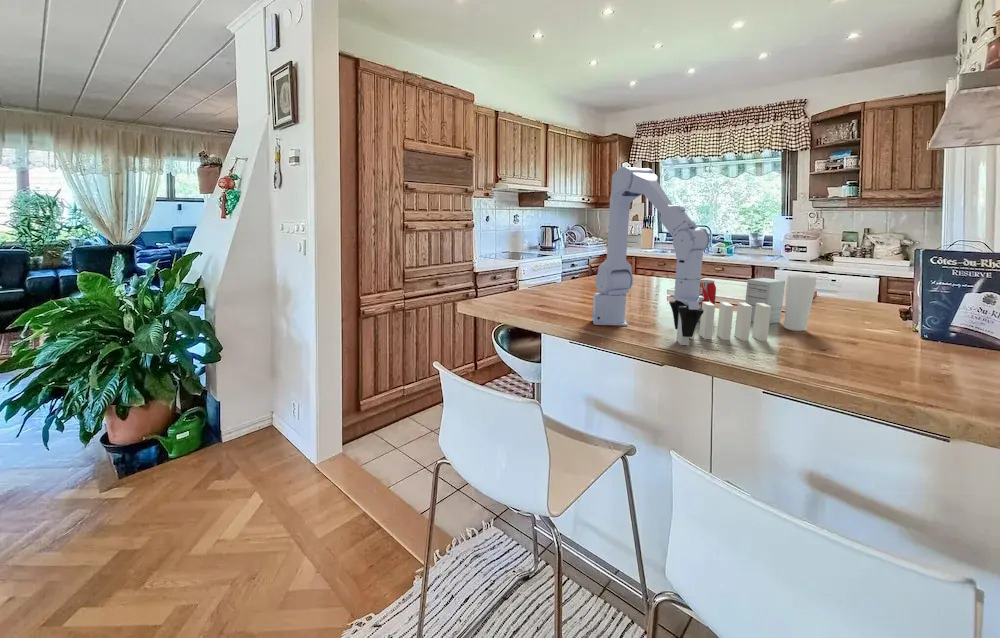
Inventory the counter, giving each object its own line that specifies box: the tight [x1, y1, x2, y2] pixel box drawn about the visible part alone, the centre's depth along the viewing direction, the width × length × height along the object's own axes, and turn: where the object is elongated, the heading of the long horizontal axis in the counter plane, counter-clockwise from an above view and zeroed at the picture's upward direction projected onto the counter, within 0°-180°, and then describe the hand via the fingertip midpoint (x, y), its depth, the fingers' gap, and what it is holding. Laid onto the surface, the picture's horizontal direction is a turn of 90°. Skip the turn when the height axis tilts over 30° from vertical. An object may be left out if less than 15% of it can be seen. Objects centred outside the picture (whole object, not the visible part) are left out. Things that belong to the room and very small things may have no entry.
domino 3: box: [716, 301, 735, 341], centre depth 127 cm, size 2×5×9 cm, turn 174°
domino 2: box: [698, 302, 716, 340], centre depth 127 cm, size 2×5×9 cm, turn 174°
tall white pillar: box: [783, 274, 817, 332], centre depth 135 cm, size 7×7×15 cm
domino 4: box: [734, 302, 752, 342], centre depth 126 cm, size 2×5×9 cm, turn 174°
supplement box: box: [744, 277, 786, 325], centre depth 146 cm, size 7×7×13 cm
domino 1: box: [676, 306, 690, 347], centre depth 121 cm, size 2×5×9 cm, turn 174°
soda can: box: [697, 279, 717, 323], centre depth 147 cm, size 7×7×12 cm
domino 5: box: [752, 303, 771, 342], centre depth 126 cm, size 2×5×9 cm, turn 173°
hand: (683, 332), depth 122 cm, fingers open, 7 cm apart
